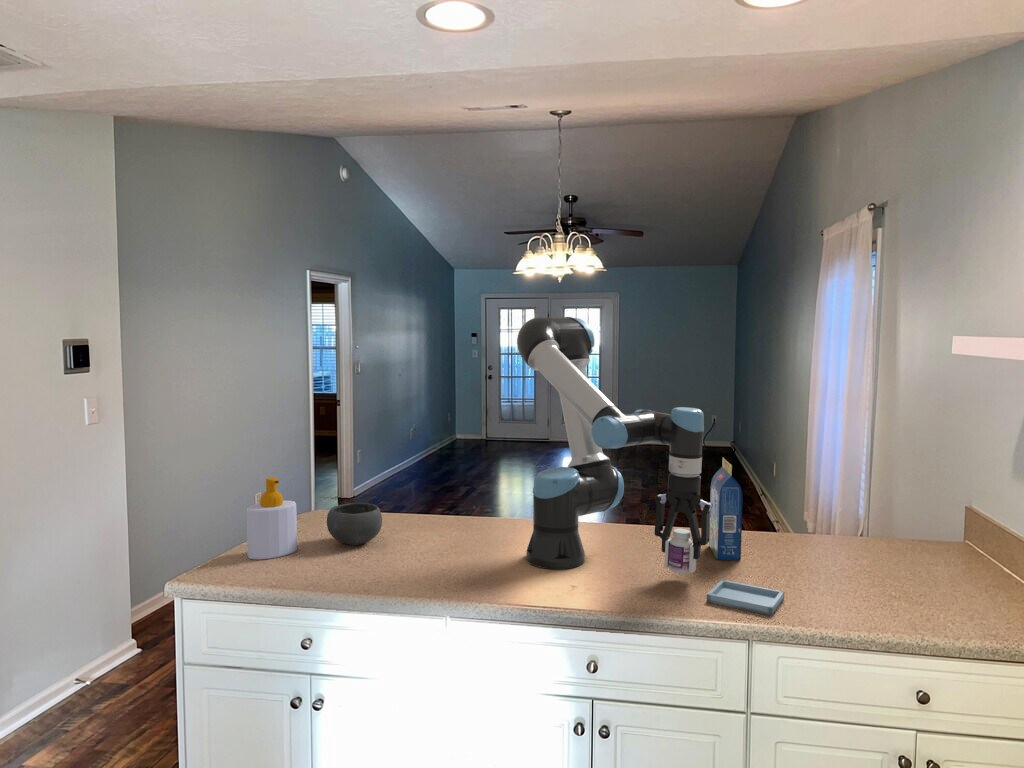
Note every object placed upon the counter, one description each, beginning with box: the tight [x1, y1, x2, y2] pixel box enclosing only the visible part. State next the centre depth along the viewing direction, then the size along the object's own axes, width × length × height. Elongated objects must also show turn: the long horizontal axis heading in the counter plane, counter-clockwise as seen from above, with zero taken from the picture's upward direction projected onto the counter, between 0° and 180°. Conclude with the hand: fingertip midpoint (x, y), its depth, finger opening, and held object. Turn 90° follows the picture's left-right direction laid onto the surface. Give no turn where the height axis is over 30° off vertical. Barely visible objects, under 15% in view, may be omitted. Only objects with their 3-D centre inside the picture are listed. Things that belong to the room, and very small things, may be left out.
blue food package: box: [708, 457, 744, 561], centre depth 195 cm, size 6×12×25 cm, turn 175°
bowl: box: [326, 502, 383, 546], centre depth 204 cm, size 15×15×10 cm
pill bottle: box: [668, 528, 693, 574], centre depth 175 cm, size 5×5×10 cm
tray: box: [706, 579, 785, 617], centre depth 163 cm, size 14×11×2 cm
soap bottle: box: [246, 476, 298, 561], centre depth 193 cm, size 13×8×20 cm, turn 131°
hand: (679, 568), depth 175 cm, fingers closed on pill bottle, 5 cm apart
